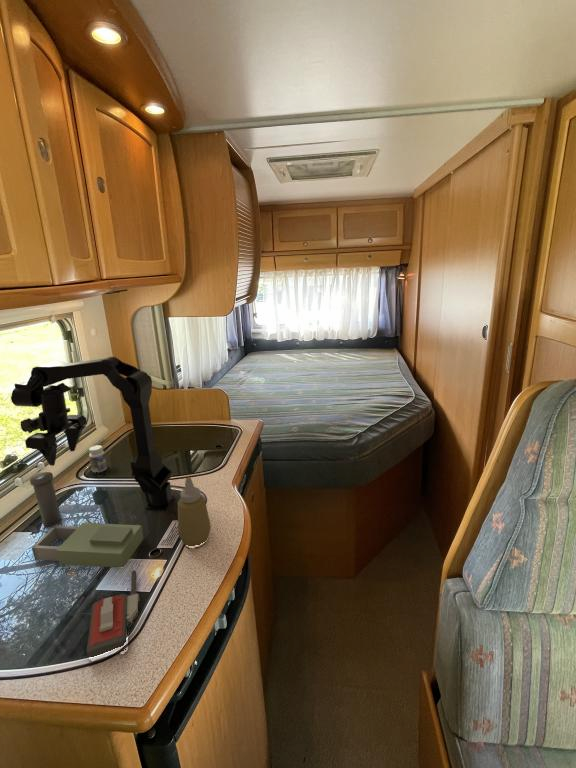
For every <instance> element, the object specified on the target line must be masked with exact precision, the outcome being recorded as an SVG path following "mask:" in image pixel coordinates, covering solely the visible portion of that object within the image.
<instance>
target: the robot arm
mask: <svg viewBox="0 0 576 768" xmlns="http://www.w3.org/2000/svg"><path fill="white" fill-rule="evenodd" d="M98 375H101V376H102V375H103V376H105V377H106V378H107V380H108V381H109V382H110V383H111V385H112V386H113V387H114V388H116V389H117V390H118V391H120V393H121V396H122V398H123V401H124V402H125V403H126V405H127V406H128V407H129V409H130V410H129V411H130V417H131V424H132V428H133V434H134V435H133V436H134V441H135V447H136V453H137V455H136V457H135V458H134V459H133V460H132V461H131V462H130V467H131V468H130V469H131V471H132V473H131V477H134V478H133V479H134V480H135V482H136V483H138V486H139V487H140V488H141V491H142V492H143V493H144V498H145V503H146V505H145V506H144V507H145V509H146V510H158V511H159V510H161V511H162V510H163V511H165V510H168V508H169V507H170V505H171V504H172V503H173V501H174V500H175V497H176V495H173V493H172V487H171V482H170V481H169V480H170V479H171V478H172V475H173V471H172V470H171V469H169V468H168V467H167V466H166V465H165V464H163V461H162V458H161V455H160V454H159V453H158V452H157V450H156V447H155V442H154V434H153V428H152V427H153V426H152V419H151V412H150V405H149V404H150V400H151V396H152V389H153V380H152V377H151V376H150V375H149V374H148V373H147V372H145V371H142V370H140V369H139V368H138V367H136V366H134V365H132V364H128V363H126V362H124V361H122V360H121V359H120V358H118V357H115V356H108V357H106V358H105V357H104V358H97V359H92V360H91V359H90V360H83V361H77V362H66V361H58V360H57V361H56V360H55V361H54V360H52V361H48V362H46V363H42V364H40V365H37V366H34V367H32V368H31V372H30V376H29V378H28V381H27V382H25V381H19V382H17V383H14V388H13V390H12V392H11V396H10V401H11V403H12V404H13V405H14V406H17V407H29V408H30V407H32V408H35V407H38V408H39V407H40V406H41V410H42V411H41V412H39V414H38V416H36V417H34V418H32V419H31V418H30V417H29V418H26V419H24V420H21V421H20V428H21V430H22V432H24V433H27V432H28V434H32V433H33V432H35V431H37V430H39V431H40V432H36V433H34V434H32V435H30V436H28V437H27V438H26V439H25V440H24V442H25V446H26V447H25V448H26V449H31V450H37V451H39V452H40V453H41V455H42V456H43V458H45V460H46V462H47V463H48V465H49V466H53V467H54V466H55V464H56V459H57V450H58V443H56V442H57V436H58V435H60V434H61V433H64V434H65V437H66V441H67V445H68V449H69V451H70V452H74V451H76V448H77V445H78V442H79V439H80V438H81V435H82V433H83V430H84V429H85V427H86V426H85V425H87V424H88V423H87V417H86V416H85V415H83V414H68V413H70V412H71V408H70V407H67V404H66V398H65V393H67V392H69V391H71V390H72V388H71V387H70V386H68V385H66V384H65V383H64V382H62V381H65V380H68V379H76V378H83V377H93V376H98ZM59 382H61V383H59ZM57 383H58V384H57ZM56 384H57V385H56ZM44 431H46V432H44Z"/></svg>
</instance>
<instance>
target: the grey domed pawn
mask: <svg viewBox="0 0 576 768" xmlns="http://www.w3.org/2000/svg"><path fill="white" fill-rule="evenodd" d="M53 479H54V475H53V473H52V472H50V471H45V472H39V473H37V474H34V475H33V476H31V478H29V482H30V483H29V484H30V485H31V486H32V487H33V491H34V495H35V499H36V502H37V506H38V510H39V513H40V517H41V522H42V525H43V526H44V527H54V526H57V524H59V523H61V521H62V514H61V511H60V507H59V503H58V499H57V495H56V491H55V486H54V482H53Z"/></svg>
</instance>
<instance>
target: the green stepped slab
mask: <svg viewBox="0 0 576 768" xmlns="http://www.w3.org/2000/svg"><path fill="white" fill-rule="evenodd" d="M58 540H63V543H62V544H61V545H60V546H54V544H55V543H56V542H57V541H58ZM143 540H144V535H143V528H142V525H141V524H140V525H139V524H119V523H95V522H94V523H93V522H82V523H81V524H79V526H70V525H69V526H67V525H53V526H52V527H51V528H50V529H49V530H48V531H47V532H46V533H45V534H44V535H43V536H42V537H41V538H40V539H39V540H37V542H36V543H34V545H32V547H31V551H32V555H33V558H34V560H35V561H36V560H37V561H51V562H52V561H53V562H54V561H56V562H58V563H59V565H63V566H65V565H66V566H82V567H83V566H84V567H85V566H86V567H87V566H88V567H98V568H99V567H102V568H116V567H124V566H125V567H126V565H127V564H128V563H129V561H130V559H131V557H132V556H133V555H134V553H135V552H136V550H137V549H138V548H139V546H140V545H141V543H142V542H143ZM125 567H124V568H125Z"/></svg>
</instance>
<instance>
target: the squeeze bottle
mask: <svg viewBox="0 0 576 768" xmlns="http://www.w3.org/2000/svg"><path fill="white" fill-rule="evenodd" d="M179 496H180V498H179V500H178V501H177V529H178V530H177V532H178V533H177V534H178V537H179V538H180V540H181V541H182V544H183V545H188V546H195V545H200V544H201V543H203V542H205V541H206V540H207V538H208V539H209V537H208V536H210V533H211V529H212V525H211V521H210V518H209V517H210V516H209V512H208V508H207V505H206V500H205V497H204V496H203V495H202V494H201V491H200V488H198V487H195V485H194V483H193V481H192V478H191V477H186V478H185V483H184V489H182V490H181V492H180V494H179ZM207 541H208V540H207Z"/></svg>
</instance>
